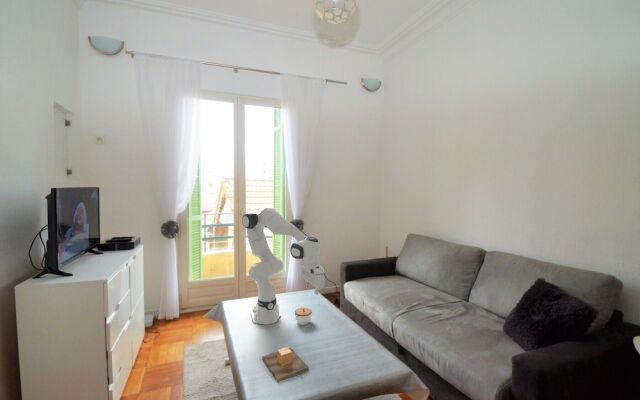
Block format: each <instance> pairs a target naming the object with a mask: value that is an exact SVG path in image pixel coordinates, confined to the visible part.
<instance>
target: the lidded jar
mask: <svg viewBox="0 0 640 400" xmlns="http://www.w3.org/2000/svg"><path fill="white" fill-rule="evenodd" d="M312 315H313V310H312V309H311V308H309V307H304V306H303V307H298V308H297V309H295V311H294V318H295V320H296V322H297V323H298V325H301V326H306V325H308V324H309V323H310V322H311V320H312Z"/></svg>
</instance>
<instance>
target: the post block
mask: <svg viewBox="0 0 640 400" xmlns="http://www.w3.org/2000/svg"><path fill="white" fill-rule="evenodd" d="M288 348H289V349H290V350H291V351H292V363H290V364H287V365H284V366H281V364H280V363H279V362H278V361H277V351H275V352H271V353H268V354H265V355H262V356H261V359H262V362H263V363H264V364H265V365H266V366H265V367H267V369H268V370H269V371H270V373H271V374H272V376H273V377H274V379H275V381H276V382H277V383H279V382H281V381H284V380H287V379H289V378H292V377H295V376H297V375H300V374H303V373H306V372H308V371H310V369H309V368H310V366H308V365H307V363H306V362H305V361H304V360H303V359H302V358H301V357H300V356H299V355H298V354H297V352H296V351H295V350H294V349H293V348H292V346H289V347H288Z"/></svg>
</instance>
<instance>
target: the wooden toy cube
mask: <svg viewBox="0 0 640 400" xmlns="http://www.w3.org/2000/svg"><path fill="white" fill-rule="evenodd" d="M276 352H277V361H278V362H279V363H280V364H281V366H284V365H287V364H290V363H292V351H291V350H290V349H289V347H288V346H285V347H282V348H279V349H277V351H276Z"/></svg>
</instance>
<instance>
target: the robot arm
mask: <svg viewBox="0 0 640 400" xmlns="http://www.w3.org/2000/svg"><path fill="white" fill-rule="evenodd" d="M241 223H242V225H243V227H244V228H245V229H246V235H247V239H248V243H249V247H250V250H251V253H252V255H253V256H255V257H257V258H259V260H260V261H259V262H257V263H255V264H253V265H251V266H250V268H249V269H248V276H249V278H250V280H252V281H254V282H255V284H256V286H257V291H258V292H257V294H258V296H257V297H258V299H257V302H256V304H254V308H252V311H251V312H250V317H251V319H252V322H253V324H260V325H272V324H274V323H276V322H278V321H279V319H280V318H281V317H282V314H281V313H280V309H279V304H278V303H277V300H278V299H277V296H276V292H277V291H276V289H277V287H276V285H275V284H274V283H273V282H272V281H271V277H274V276H276V275H278V274H279V273H281V272H282V271H283V269H284V263H283V261H282V259H280V258H279V257H278V256H276V255H275V254H274V253H273V252H272V250H271V248H270V247H269V244H268V240H267V238H266V234H265V232H264V229H265V228H266V229H268V230H269V231H270V232H271V233H272V234H274V235H277V236H278V235H281V236H282V235H284V236H290V237H292V238H293V239H295V240H296V241H295V242H293V243H292V244H291V246H290V248H289V249H290V250H289V251H290V254H291V256H292V258H293V259H295V260H303V264H302V267H301V270H300V271H301V272H300V277H301V280H303V281H304V284H305V288H306V289H307V290H308V289H309V290H310V289H311V285H312V287H314V294H315V295H316V296H317V295H319V293H320V291H319V290H320V289H324V287H325V273H326V272H325V271H326V270H325V268H324V267H323V266H322V264H321V259H320V255H321V246H320V241H319V239H318V238H316V237H314V236H309V235H308V234H306V233H305V232H304V231H303V230H301V229H300V228H299V227H298V226H296V225H295V224H294V223H292V222H290V221H288V220H287V219H286V218H284V217H283V216H282V215H281V214H280V212H278V211H277V210H276V209H274V208H273V207H271V206H265V207H263V208H262V209H258V210H257V209H256V210H254V211H249V212H246V213H244V214H243V215H242V218H241Z"/></svg>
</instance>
